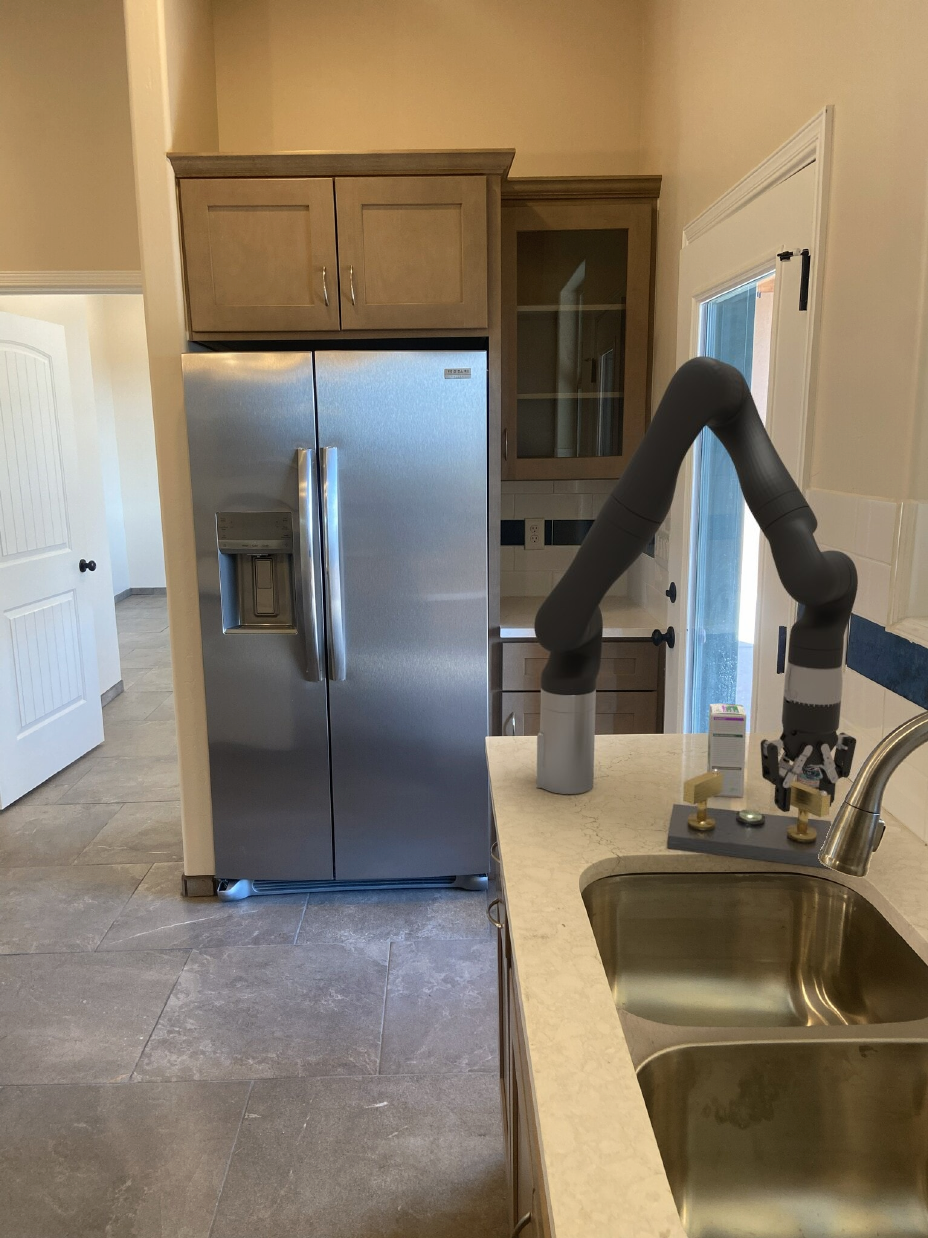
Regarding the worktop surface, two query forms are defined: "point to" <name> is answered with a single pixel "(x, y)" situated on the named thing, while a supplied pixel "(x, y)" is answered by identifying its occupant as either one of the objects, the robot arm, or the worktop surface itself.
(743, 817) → the levelling plate
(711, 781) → the knob
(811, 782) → the beer can
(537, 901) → the worktop surface
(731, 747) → the syrup box
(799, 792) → the knob
